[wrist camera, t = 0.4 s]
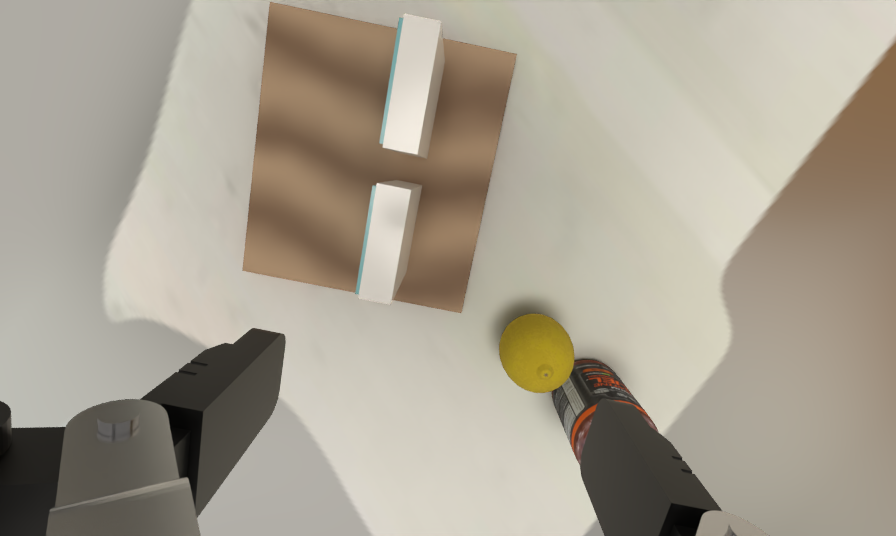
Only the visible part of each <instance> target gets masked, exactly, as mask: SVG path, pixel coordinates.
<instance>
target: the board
mask: <svg viewBox="0 0 896 536" xmlns="http://www.w3.org/2000/svg"><path fill="white" fill-rule="evenodd" d="M396 35H397V29H396V28H391V27H386V26H382V25H377V24H372V23H367V22H363V21H358V20H353V19H348V18H344V17H339V16H334V15H330V14H325V13H320V12H315V11H311V10H306V9H301V8H296V7H292V6H287V5H282V4H277V3H273V2H270V6H269V16H268V26H267V36H266V46H265V56H264V65H263V75H262V85H261V95H260V105H259V114H258V124H257V134H256V144H255V154H254V163H253V173H252V183H251V193H250V203H249V213H248V222H247V232H246V242H245V252H244V262H243V271H247V272H252V273H258V274H263V275H268V276H273V277H278V278H283V279H288V280H294V281H299V282H304V283H309V284H314V285H319V286H324V287H330V288H335V289H340V290H345V291H350V292H356V286H357V280H358V273H359V267H360V261H361V255H362V248H363V242H364V236H365V230H366V223H367V217H368V211H369V204H370V198H371V192H372V186H373V185H377V183H380V182H387V181H393V180H399V181H404V182H409V183H414V184H419V185H422V190H421V195H420V201H419V206H418V212H417V217H416V223H415V228H414V234H413V239H412V244H411V250H410V255H409V261H408V266H407V272H406V274H405V276H404V278H403V280H402V282H401V284H400V287H399V289H398V291H397V293H396V295H395V297H394V299H393V300H396V301H401V302H407V303H412V304H417V305H422V306H427V307H432V308H437V309H443V310H448V311H453V312H458V313H461V312H462V307H463V303H464V298H465V293H466V289H467V284H468V279H469V275H470V270H471V265H472V261H473V256H474V251H475V247H476V242H477V237H478V233H479V228H480V223H481V219H482V214H483V209H484V205H485V200H486V195H487V191H488V186H489V181H490V177H491V172H492V167H493V163H494V158H495V153H496V149H497V144H498V139H499V135H500V130H501V125H502V121H503V116H504V111H505V107H506V102H507V97H508V93H509V88H510V83H511V79H512V74H513V69H514V65H515V60H516V55H517V54H514V53H509V52H505V51H500V50H495V49H491V48H486V47H481V46H476V45H472V44H467V43H462V42H457V41H453V40H448V39H443V46H444V57H445V64H444V70H443V75H442V81H441V86H440V92H439V97H438V102H437V108H436V113H435V119H434V124H433V130H432V135H431V141H430V146H429V152H428V157H427V159H425V158H420V157H415V156H410V155H405V154H401V153H398V152H395V151H392V150H389V149H385V148H382V147H383V144H380V143H379V142H380V135H381V129H382V123H383V117H384V110H385V104H386V98H387V92H388V85H389V79H390V73H391V66H392V60H393V54H394V48H395V41H396Z"/></svg>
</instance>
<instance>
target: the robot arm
mask: <svg viewBox="0 0 896 536" xmlns="http://www.w3.org/2000/svg"><path fill="white" fill-rule="evenodd" d="M284 351H285V335H284V334H281V333H276V332H271V331H266V330H261V329H256V328H252V329H251V330H249V331H248V332H247V333H246V334H245V335H243V336H242V337H241V338H240V339H239V340H237V341H236V342H235V343H234V344H228V343H224V344H221V345H218V346H215V347H212V348H210V349H207V350H205V351H203V352H202V353H201V354H199V355H198V356H197V357H195V358H194V359H193V360H191V363H187V364H186V365H185V366H183V367H182V368H181V369H179V372H175V373H174V374H173V375H172V376H170V377H169V378H168V379H166V380H165V381H164V382H162V383H161V384H160V385H158V386H157V387H156V388H154V389H153V390H152V391H150V392H149V393H148V394H147V395H145V396H144V397H143V398H141V399H140V400H139V399H125V400H117V401H110V402H106V403H102V404H99V405H96V406H93V407H91V408H88V409H86V410H84V411H82V412H80V413H79V414H77V415H76V416H75V417H73V418H72V419H71V420H70V421H69V422H68V424H67V425H66V427H46V428H45V427H44V428H11V410H10V408H9V406H8V405H7V404H5V403H4V402H1V401H0V536H200V531H199V527H198V521H197V517H198V515H200V513H201V512H202V510H203V509H204V508H205V506H206V505H207V503H208V502H209V501H210V499H211V498H212V496H213V495H214V494H215V493H216V491H217V490H218V488H219V487H220V485H221V484H222V483H223V481H224V480H225V479H226V477H227V476H228V475H229V473H230V472H231V470H232V469H233V468H234V466H235V465H236V463H237V462H238V461H239V459H240V458H241V457H242V455H243V454H244V452H245V451H246V450H247V448H248V447H249V445H250V444H251V443H252V441H253V440H254V439H255V437H256V436H257V434H258V433H259V432H260V430H261V429H262V428H263V426H264V425H265V423H266V422H267V420H268V419H269V418H270V416H271V415H272V413H273V411H274V408H275V406H276V403H277V400H278V396H279V390H280V383H281V375H282V367H283V359H284ZM580 469H581V476H582V479H583V482H584V484H585V487H586V490H587V492H588V495H589V497H590V500H591V502H592V505H593V507H594V510H595V513H596V515H597V518H598V520H599V523H600V525H601V528H602V530H603V533H604V535H605V536H769V535H768V534H766V533H765V532H764V531H762V530H761V529H759V528H758V527H757V526H755V525H753V524H752V523H750V522H748V521H746V520H744V519H742V518H740V517H738V516H736V515H733V514H730V513H727V512H723V511H722V510H721V509H720V507H719V506H718V505H717V503H716V502H715V501H714V499H713V498H712V497H711V495H710V494H709V493H708V491H707V490H706V489H705V487H704V486H703V485H702V483H701V482H700V481H699V480H698V478H697V477H696V476H695V474H692V470H691V469H690V468H689V466H688V465H687V464H686V462H685V461H682V457H681V456H680V454H679V453H678V452H677V450H676V449H675V448H674V446H673V445H672V444H671V442H669V441H668V440H667V439H666V438H664V437H663V436H662V435H661V434H659V433H658V432H657V431H656V430H655V429H653V428H651V427H650V426H649V424H648V423H647V422H646V420H645V419H644V418H643V416H642V415H641V413H640V412H639V411H638V409H637V408H636V407H635V405H633V404H629V403H624V402H619V401H614V400H609V399H601V400H600V401H599V402H598V404H597V406H596V409H595V412H594V415H593V419H592V422H591V425H590V428H589V431H588V434H587V437H586V440H585V444H584V447H583V450H582V454H581V461H580Z"/></svg>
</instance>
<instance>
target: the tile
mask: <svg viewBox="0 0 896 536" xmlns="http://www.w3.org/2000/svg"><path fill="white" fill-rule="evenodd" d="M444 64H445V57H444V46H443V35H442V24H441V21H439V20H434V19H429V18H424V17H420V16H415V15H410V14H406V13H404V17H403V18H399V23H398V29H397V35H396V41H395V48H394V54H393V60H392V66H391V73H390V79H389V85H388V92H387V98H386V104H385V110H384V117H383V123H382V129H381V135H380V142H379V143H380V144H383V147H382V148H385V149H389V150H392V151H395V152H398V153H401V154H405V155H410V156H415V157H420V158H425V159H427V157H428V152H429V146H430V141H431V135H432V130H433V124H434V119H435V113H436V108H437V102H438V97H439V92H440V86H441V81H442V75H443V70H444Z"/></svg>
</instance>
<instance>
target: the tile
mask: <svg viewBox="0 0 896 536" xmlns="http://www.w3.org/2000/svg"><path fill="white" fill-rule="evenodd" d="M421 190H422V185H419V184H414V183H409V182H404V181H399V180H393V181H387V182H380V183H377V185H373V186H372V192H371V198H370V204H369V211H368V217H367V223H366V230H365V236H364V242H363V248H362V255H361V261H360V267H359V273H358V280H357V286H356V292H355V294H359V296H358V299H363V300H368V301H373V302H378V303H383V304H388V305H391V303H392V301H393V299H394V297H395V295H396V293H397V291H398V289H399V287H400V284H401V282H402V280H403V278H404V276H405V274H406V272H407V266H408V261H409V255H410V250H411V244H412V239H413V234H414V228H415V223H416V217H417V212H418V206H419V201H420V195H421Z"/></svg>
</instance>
